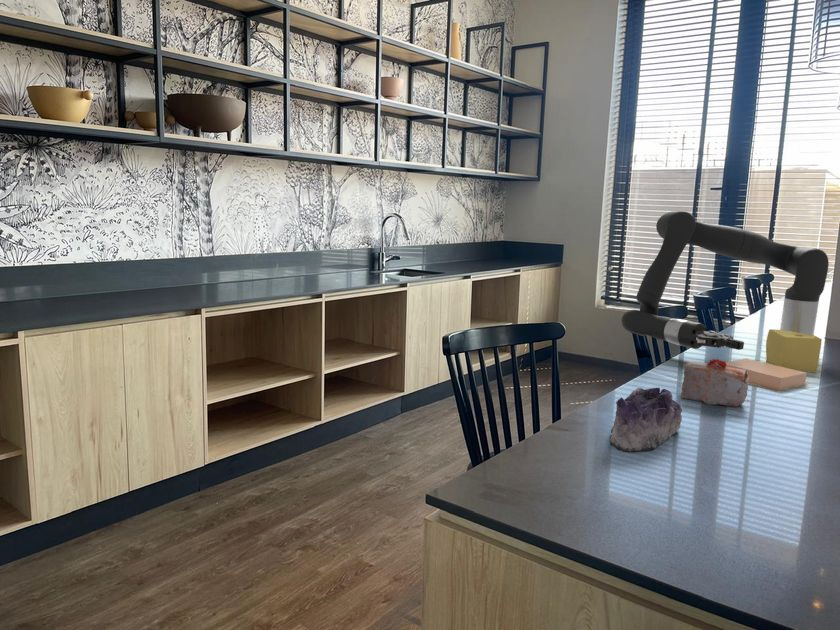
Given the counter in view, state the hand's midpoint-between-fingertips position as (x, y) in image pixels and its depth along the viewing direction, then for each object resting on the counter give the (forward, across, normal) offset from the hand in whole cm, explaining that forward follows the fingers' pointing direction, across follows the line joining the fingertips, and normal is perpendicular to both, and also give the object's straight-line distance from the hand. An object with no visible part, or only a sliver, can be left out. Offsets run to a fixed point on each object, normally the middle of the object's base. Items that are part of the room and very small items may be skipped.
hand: (742, 345), depth 170 cm
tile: (-2, 0, +6) cm, 6 cm away
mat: (+3, 0, +8) cm, 9 cm away
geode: (+20, -63, +8) cm, 67 cm away
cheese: (+2, +23, +8) cm, 25 cm away
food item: (+11, -29, +8) cm, 32 cm away
